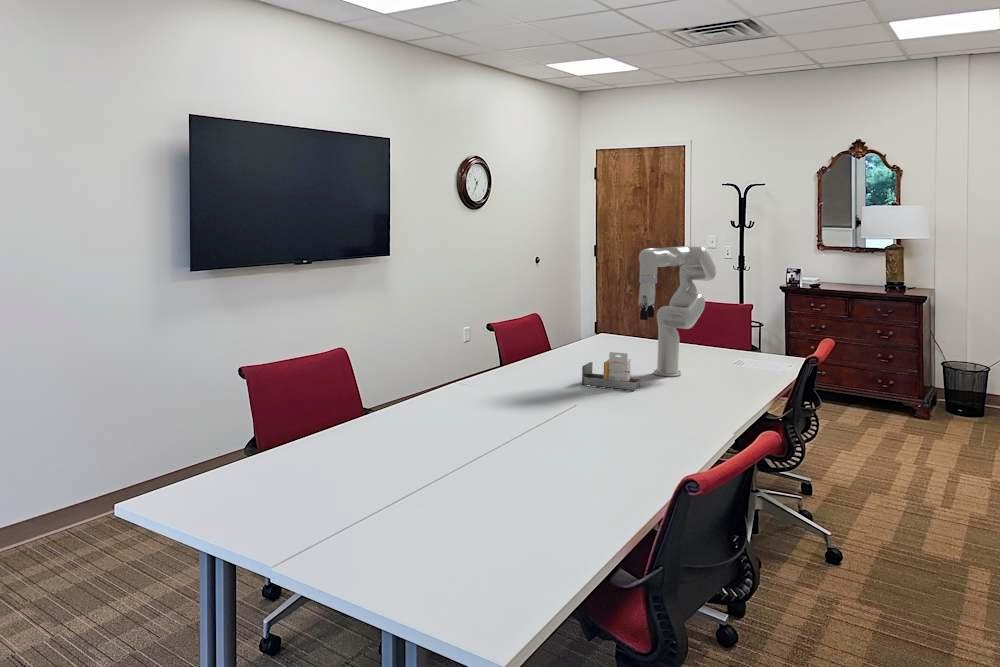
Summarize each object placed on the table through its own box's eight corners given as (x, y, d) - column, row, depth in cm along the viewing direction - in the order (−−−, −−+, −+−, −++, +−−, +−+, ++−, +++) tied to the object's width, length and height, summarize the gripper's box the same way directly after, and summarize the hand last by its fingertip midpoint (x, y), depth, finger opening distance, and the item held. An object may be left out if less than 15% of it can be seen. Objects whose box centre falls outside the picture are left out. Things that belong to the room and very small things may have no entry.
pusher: (608, 381, 326) (609, 359, 324) (611, 382, 325) (612, 359, 324) (603, 385, 320) (603, 362, 318) (606, 385, 319) (607, 362, 317)
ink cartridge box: (630, 385, 321) (631, 351, 318) (626, 387, 316) (628, 353, 314) (611, 383, 325) (612, 350, 322) (607, 385, 320) (608, 351, 318)
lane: (589, 380, 331) (590, 362, 330) (640, 386, 321) (641, 367, 320) (581, 385, 323) (582, 366, 321) (633, 391, 312) (634, 371, 311)
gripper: (645, 277, 332) (644, 315, 335) (634, 280, 317) (632, 320, 320) (662, 278, 329) (660, 316, 332) (651, 281, 314) (649, 321, 316)
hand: (646, 318), depth 326 cm, fingers open, 9 cm apart
